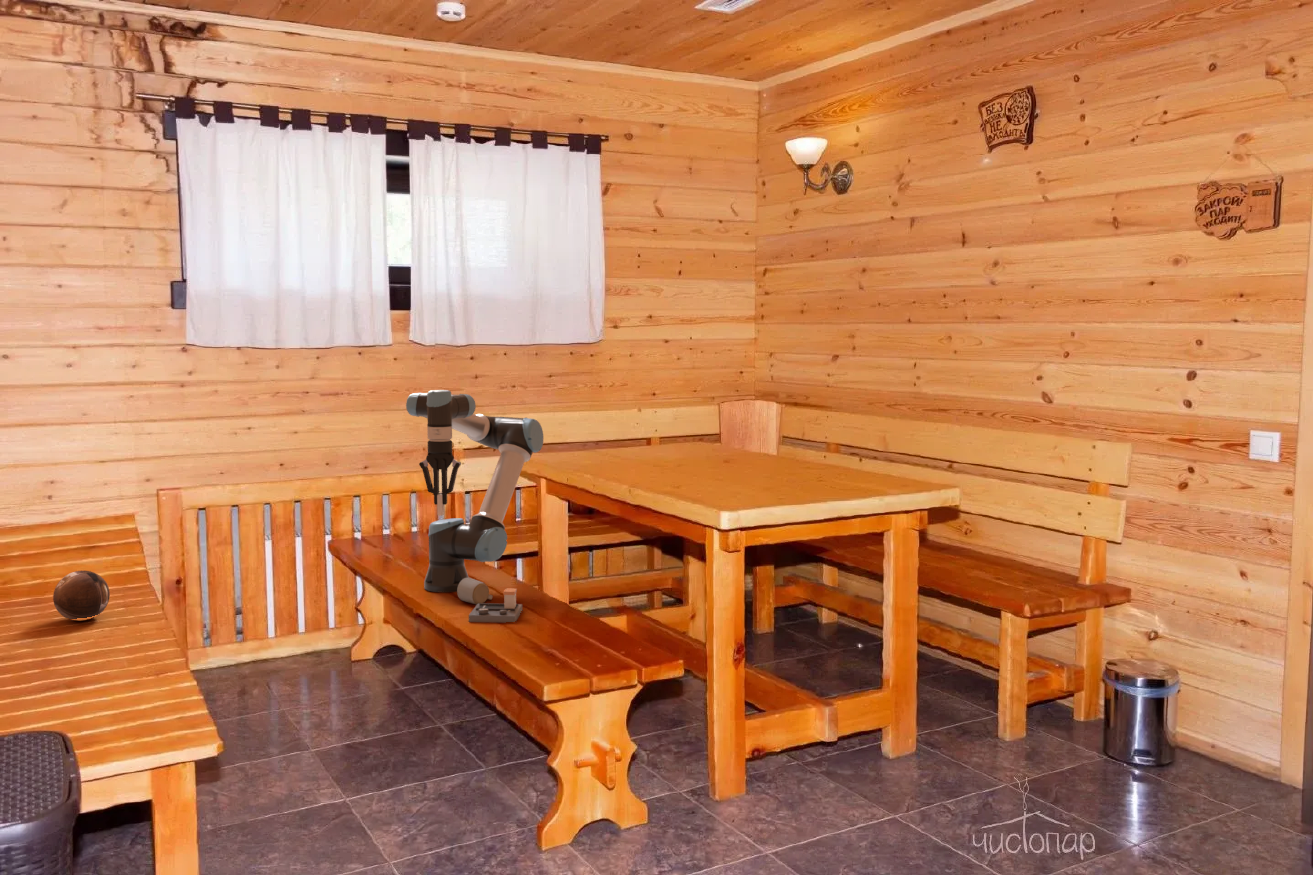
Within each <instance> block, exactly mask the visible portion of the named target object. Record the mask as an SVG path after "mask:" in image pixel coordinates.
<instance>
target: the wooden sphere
mask: <svg viewBox="0 0 1313 875" xmlns="http://www.w3.org/2000/svg"><path fill="white" fill-rule="evenodd" d="M110 594H111V592H110V588H109V585H108V583H107V581H106V580H105V579H104V578H103V577H102V576H101V575H100V574H98V573H96V572H94V571H91V570H78V571H77V570H76V571H73V572H70V573H68V574H66V575H65V576H64V577H62V578H61V579H60V580H59V582H58V583H57V584H56V585H55V587H54V590H53V594H52V596H53V600H52V601H53V604H54V607H55V609H56V610H57V612H58V613H59V614H60V615H61V616H62V617H63V618H65V619H67V618H69V619H77V618H87V617H92V616H95V615H98V614H99V615H101V614H102V613H103V612H104V610H105V609H106V608H107V606H108V604H109V601H110ZM100 613H101V614H100ZM99 615H98V616H99ZM69 619H68V620H69Z"/></svg>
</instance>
